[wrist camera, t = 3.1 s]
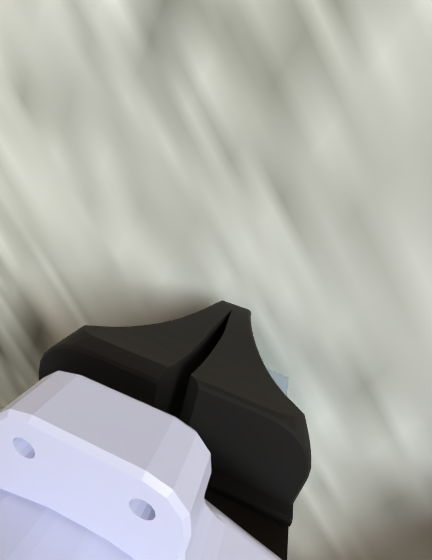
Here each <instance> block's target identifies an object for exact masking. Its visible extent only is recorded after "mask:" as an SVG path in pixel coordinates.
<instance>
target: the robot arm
mask: <svg viewBox="0 0 432 560" xmlns="http://www.w3.org/2000/svg"><path fill="white" fill-rule="evenodd" d="M310 470H311V448H310V440H309V434H308V429H307V424H306V419H305V415H304V414H303V413H302V412H301V411H300V409H299V408H298V407H297V406H296V405H295V404H294V403H293V402H292V401H291V400H290V399H289V398H288V397H287V396H286V395H285V394H284V393H283V391H282V390H281V389H280V388H279V386H278V385H277V384H276V383H275V381H274V380H273V378H272V377H271V375H270V374H269V372H268V371H267V369H266V367H265V365H264V364H263V361H262V359H261V357H260V355H259V352H258V350H257V347H256V344H255V340H254V337H253V332H252V327H251V312H250V310H248V309H245V308H242V307H239V306H237V305H234V304H231V303H228V302H225V301H220V302H218V303H216V304H214V305H212V306H210V307H208V308H206V309H203V310H201V311H199V312H197V313H194V314H191V315H189V316H186V317H183V318H180V319H177V320H173V321H168V322H164V323H158V324H151V325H144V326H132V327H104V326H88V325H85V326H83V327H82V328H80V329H78V330H77V331H75V332H74V333H72V334H71V335H69V336H68V337H66V338H65V339H63V340H62V341H60V342H59V343H57V344H56V345H54V346H53V347H52V348H50V349H49V350H48V351H47V352H45V353H44V355H43V357H42V359H41V361H40V368H39V381H38V382H37V383H36V384H34V385H33V386H32V387H31V388H29V389H28V390H27V391H25V392H24V393H23V394H21V395H20V396H19V397H17V398H16V399H15V400H14V401H12V402H11V403H10V404H8V405H7V406H6V407H4V408H3V409H2V410H0V560H287V546H288V526H289V527H290V525H291V523H292V519H293V503H294V501H295V499H296V498H297V496H298V494H299V492H300V491H301V489H302V487H303V486H304V484H305V482H306V480H307V479H308V476H309V473H310Z"/></svg>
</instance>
